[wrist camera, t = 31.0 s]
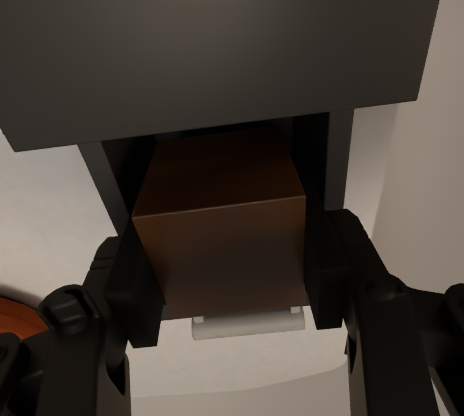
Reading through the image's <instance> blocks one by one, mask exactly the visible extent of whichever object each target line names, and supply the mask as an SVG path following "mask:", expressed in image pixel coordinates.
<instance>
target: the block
mask: <svg viewBox="0 0 464 416" xmlns="http://www.w3.org/2000/svg"><path fill="white" fill-rule="evenodd" d="M305 212H306V196H305V193H304V190H303V188H302V185H301V183H300V180H299V177H298V175H297V172H296V169H295V167H294V164H293V162H292V159H291V156H290V154H289V151H288V148H287V146H286V143H285V141H284V138H283V135H282V133H281V130H280V127H279V125H274V126H267V127H260V128H252V129H245V130H238V131H230V132H223V133H216V134H209V135H201V136H194V137H187V138H179V139H172V140H165V141H158V142H157V143H156V146H155V149H154V152H153V155H152V158H151V161H150V164H149V167H148V170H147V173H146V176H145V179H144V182H143V185H142V188H141V191H140V194H139V197H138V200H137V203H136V206H135V209H134V211H133V214H132V221H133V223H134V225H135V228H136V230H137V233H138V235H139V238H140V240H141V243H142V245H143V247H144V250H145V252H146V255H147V257H148V260H149V262H150V265H151V267H152V269H153V272H154V274H155V277H156V279H157V282H158V284H159V287H160V289H161V291H162V294H163V296H164V299H165V301H166V304H167V306H168V309H169V311H170V313H171V316H172V318H173V319H177V318H186V317H195V316H204V315H213V314H222V313H231V312H240V311H250V310H259V309H268V308H277V307H286V306H295V305H303V304H304V303H305Z"/></svg>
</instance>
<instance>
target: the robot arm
mask: <svg viewBox="0 0 464 416" xmlns="http://www.w3.org/2000/svg"><path fill="white" fill-rule="evenodd" d="M289 154H290V156H291V159H292V162H293V164H294V167H295V169H296V172H297V175H298V177H299V180H300V183H301V185H302V188H303V190H304V193H305V196H306V212H305V288H306V292H307V296H308V299H309V303H310V307H311V310H312V314H313V318H314V321H315V325H316V329H317V330H322V329H331V328H341V327H342V321H343V319H344V322H345V325H346V328H347V330H348V335H347V341H346V347H345V353H344V354H347V358H348V374H349V392H350V410H351V416H440V414H439V410H438V405H437V401H436V397H435V393H434V390H433V385H432V381H433V383H434V385H435V387H436V389H437V391H438V393H439V395H440V397H441V399H442V401H443V403H444V405H445V407H446V409H447V411H448V412H449V415H450V416H464V283H463V284H462V283H459V284H456V285H452V286H451V287H449V288H448V289H447V290H446V292H445V294H442V293H435V292H428V291H422V290H417V289H413V288H410V287H408V286H406V285H405V284H404V283H403V282H402V281H401V280H400V279H399V278H397V277H395V276H393V275H391V274H390V273H389V272H388V271H387V269H386V267H385V266H384V264H383V262H382V260H381V259H380V257H379V255H378V253H377V251H376V249H375V247H374V246H373V244H372V242H371V240H370V238H368V235H367V233H366V231H365V230H364V227H363V226H362V224H361V222H360V220H359V218H358V217H357V216H356V215H354V214H353V213H352V212H351V211H349V210H348V209H339V210H330V211H325V208H324V206H323V204H322V202H321V199H320V197H319V195H318V192H317V190H316V188H315V186H314V183H313V181H312V179H311V176H310V174H309V172H308V169H307V167H306V165H305V163H304V160H303V158H302V156H301V153H300V151H299V150H297V151H289ZM147 170H148V169H146V170H145V173H144V176H143V179H142V181H141V184H140V187H139V190H138V193H137V196H136V199H135V202H134V205H133V207H132V210H131V213H130V216H129V219H128V222H127V225H126V228H125V231H124V233H123V236H115V237H108V238H107V239H106V240H105V241H104V242H103V243H102V244H101V245H100V246H99V247H98V249H97V252H96V254H95V257H94V261H92V264H91V266H90V271H88V273H87V276H86V278H85V280H84V283H83V285H82V286H81V285H76V284H72V285H66V286H63V287H61V288H58V289H56V290H55V291H53V292H52V293H50V294H49V295H48V296H46V297H45V299H44V300H43V301H42V302H41V303H40V304H39V307H38V309H37V311H36V313H37V314H38V316H39V317H40V318H41V319H42V321H43V322H44V323H45V324H46V325H47V327H48V328H49V329H47V330H45V331H43V332H40V333H37V334H35V335H32V336H30V337H27V338H24V339H21V338H20V337H19V336H17V335H16V334H15V333H12V332H4V333H0V416H131V397H130V373H129V360H128V357H127V355H126V353H125V350H126V346H127V341H128V340H129V342H130V343H131V345H132V347H133V348H143V347H153V346H157V342H158V335H159V329H160V323H161V316H162V310H163V304H164V296H163V294H162V291H161V289H160V287H159V284H158V282H157V279H156V277H155V274H154V272H153V269H152V267H151V265H150V262H149V260H148V257H147V255H146V252H145V250H144V247H143V245H142V243H141V240H140V238H139V235H138V233H137V230H136V228H135V225H134V223H133V221H132V214H133V211H134V209H135V206H136V203H137V200H138V197H139V194H140V191H141V188H142V185H143V182H144V179H145V176H146V173H147ZM431 379H432V381H431Z"/></svg>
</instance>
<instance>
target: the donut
mask: <svg viewBox="0 0 464 416" xmlns="http://www.w3.org/2000/svg"><path fill="white" fill-rule="evenodd" d="M47 329H49V328H48V327H47V325H46V324H45V323H44V322H43V321H42V319H41V318H40V317H39V316H38V314H37V313H36V310H34V309H32V308H30V307H28V306H26V305H24V304H20V303H17V302H14V301H11V300H8V299H5V298H1V297H0V333H4V332H12V333H15V334H16V335H17V336H19V337H20V338H21V339H24V338H27V337H30V336H32V335H35V334H37V333H40V332H43V331H45V330H47Z"/></svg>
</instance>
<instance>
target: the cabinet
mask: <svg viewBox="0 0 464 416" xmlns="http://www.w3.org/2000/svg"><path fill="white" fill-rule="evenodd" d="M438 4H439V0H0V128H1V130H2V132H3V134H4V135H5V137H6V139H7V140H8V142H9V144H10V145H11V147H12V149H13V151H14V152H21V151H29V150H37V149H45V148H52V147H60V146H68V145H76V144H83V143H91V142H99V141H107V140H114V139H122V138H130V137H138V136H145V135H153V134H161V133H169V132H176V131H184V130H192V129H200V128H207V127H215V126H223V125H231V124H238V123H246V122H254V121H262V120H269V119H277V118H285V117H293V116H300V115H308V114H316V113H324V112H331V111H339V110H347V109H355V108H363V107H370V106H378V105H386V104H394V103H401V102H409V101H416V100H417V97H418V93H419V88H420V83H421V79H422V75H423V70H424V66H425V62H426V58H427V53H428V49H429V44H430V39H431V35H432V31H433V27H434V22H435V18H436V13H437V9H438Z"/></svg>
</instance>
